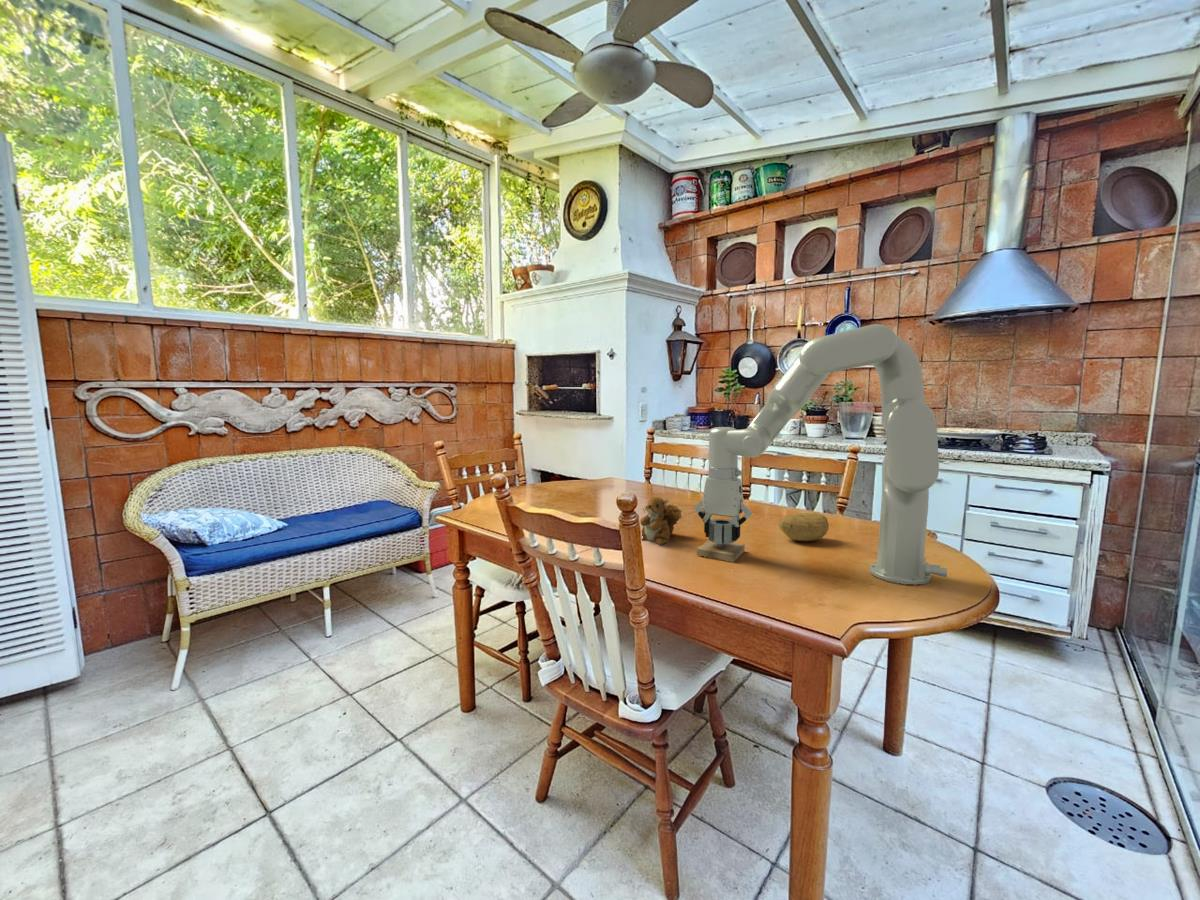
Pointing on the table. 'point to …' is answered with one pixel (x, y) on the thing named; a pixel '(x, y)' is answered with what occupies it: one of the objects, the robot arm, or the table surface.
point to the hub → (721, 531)
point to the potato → (804, 526)
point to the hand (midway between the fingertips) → (721, 537)
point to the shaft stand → (721, 550)
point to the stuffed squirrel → (659, 520)
